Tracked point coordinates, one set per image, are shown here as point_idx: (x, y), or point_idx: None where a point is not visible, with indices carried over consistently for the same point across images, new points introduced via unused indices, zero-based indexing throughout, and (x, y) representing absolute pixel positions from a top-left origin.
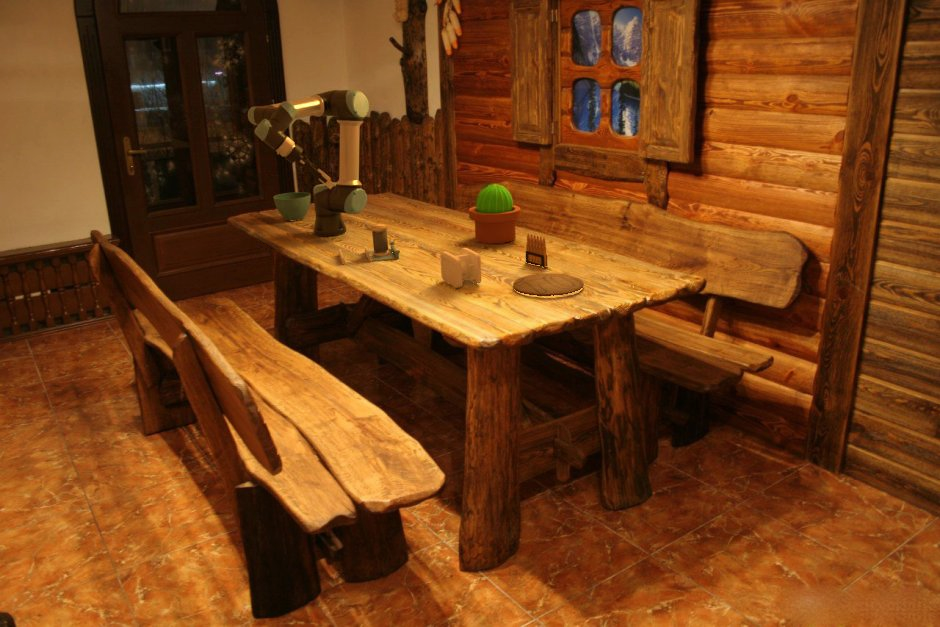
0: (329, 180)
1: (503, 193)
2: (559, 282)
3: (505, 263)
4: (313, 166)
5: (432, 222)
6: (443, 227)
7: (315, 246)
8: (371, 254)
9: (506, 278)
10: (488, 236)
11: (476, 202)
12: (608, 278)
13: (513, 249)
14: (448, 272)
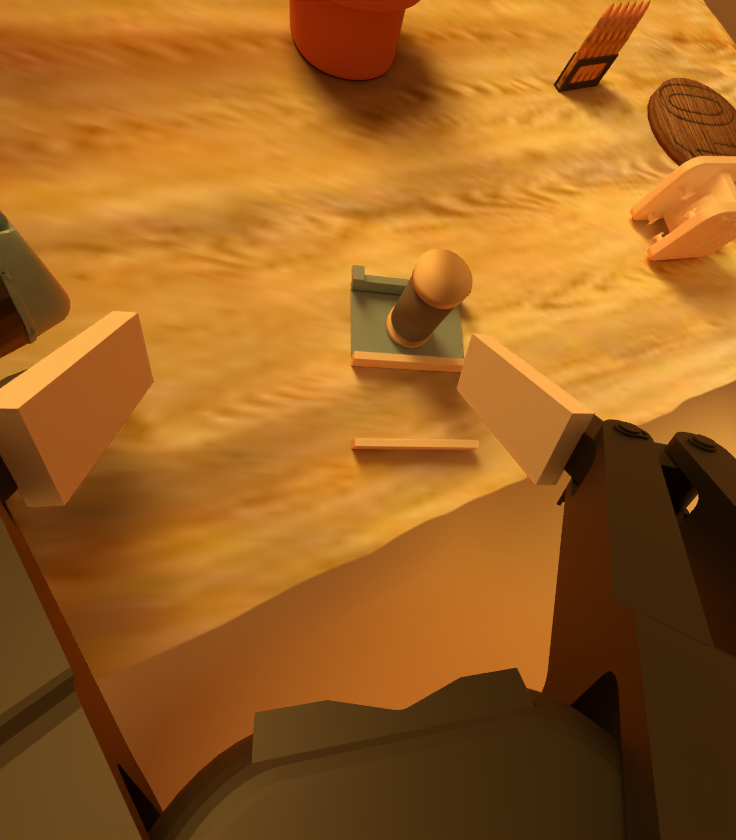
0: (520, 362)
1: None
2: (702, 110)
3: (552, 120)
4: (12, 531)
5: (8, 70)
6: (119, 76)
7: (182, 526)
8: (395, 353)
9: (644, 162)
10: (392, 49)
11: None
12: (663, 45)
13: (451, 59)
14: (706, 242)
